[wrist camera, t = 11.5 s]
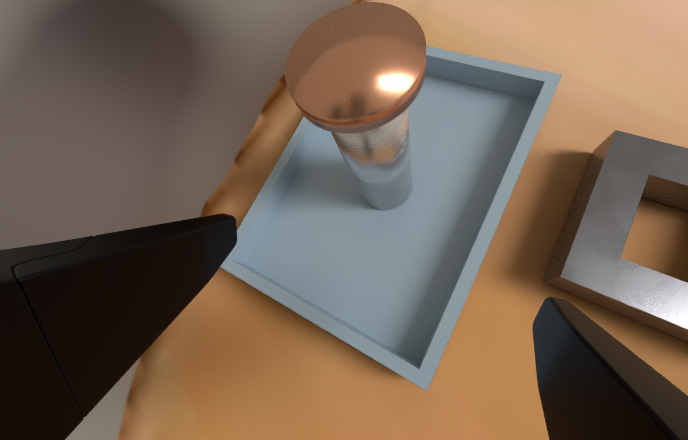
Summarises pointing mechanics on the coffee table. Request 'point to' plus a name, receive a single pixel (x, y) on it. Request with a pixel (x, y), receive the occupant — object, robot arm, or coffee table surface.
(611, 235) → the block
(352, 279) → the tray
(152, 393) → the coffee table surface
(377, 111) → the pin
